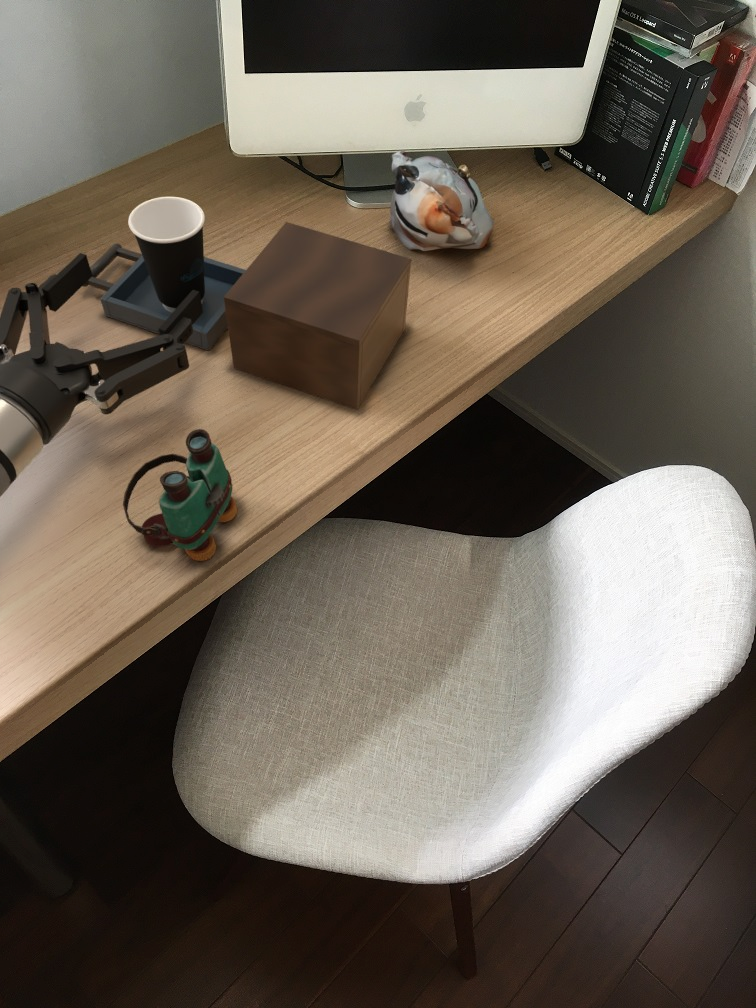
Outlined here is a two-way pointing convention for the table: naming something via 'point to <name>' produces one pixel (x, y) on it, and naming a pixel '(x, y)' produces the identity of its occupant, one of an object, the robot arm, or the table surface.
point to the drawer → (142, 307)
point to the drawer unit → (318, 313)
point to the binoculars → (189, 499)
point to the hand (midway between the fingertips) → (141, 282)
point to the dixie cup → (171, 247)
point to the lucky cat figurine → (437, 205)
